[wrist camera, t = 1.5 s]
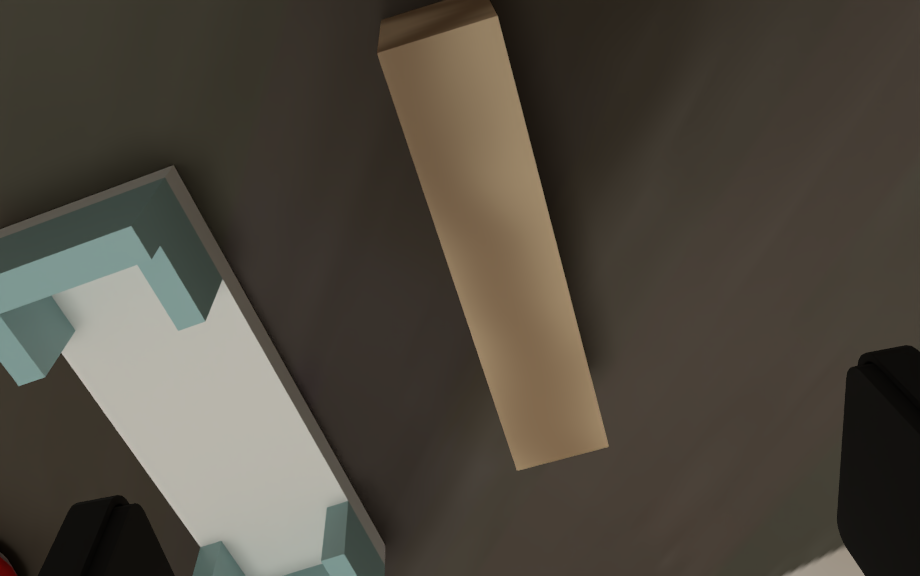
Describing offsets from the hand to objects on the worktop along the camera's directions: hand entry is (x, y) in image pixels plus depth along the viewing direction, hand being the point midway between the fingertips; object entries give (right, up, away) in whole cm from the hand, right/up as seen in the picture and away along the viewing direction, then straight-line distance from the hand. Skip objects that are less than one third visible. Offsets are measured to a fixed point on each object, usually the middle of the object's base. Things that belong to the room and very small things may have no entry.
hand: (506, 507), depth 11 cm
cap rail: (-11, -2, +23) cm, 26 cm away
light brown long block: (+1, +6, +20) cm, 21 cm away
